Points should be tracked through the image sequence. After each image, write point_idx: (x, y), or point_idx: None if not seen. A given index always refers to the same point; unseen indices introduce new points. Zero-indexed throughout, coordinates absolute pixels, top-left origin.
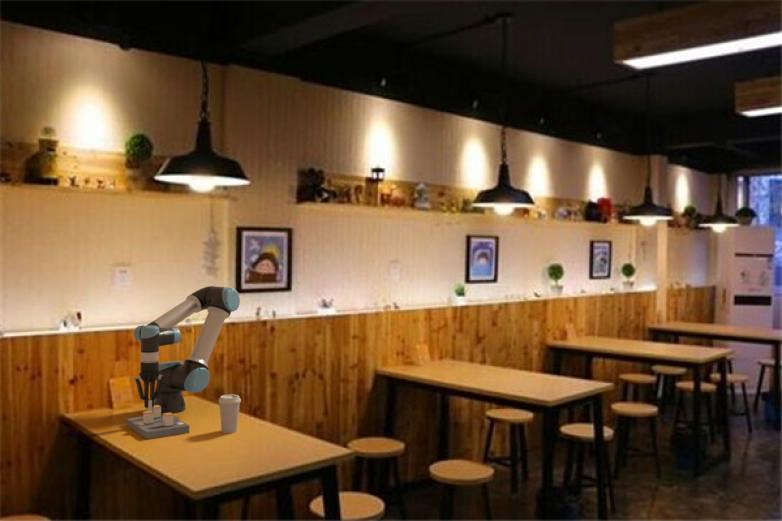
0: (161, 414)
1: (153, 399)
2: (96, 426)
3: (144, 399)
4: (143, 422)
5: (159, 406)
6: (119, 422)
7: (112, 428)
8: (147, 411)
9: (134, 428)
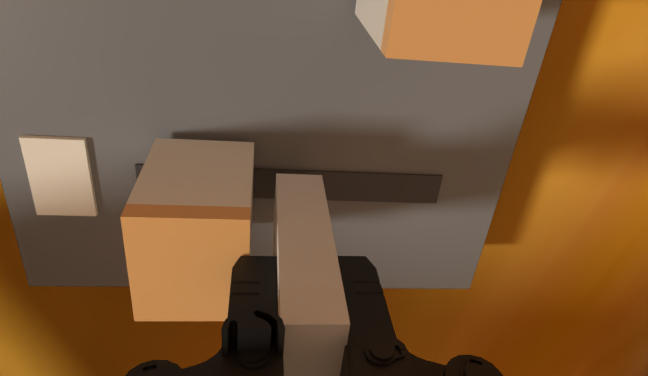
0: (110, 262)
1: (258, 319)
2: (614, 325)
3: (423, 367)
4: None
5: (145, 234)
6: (441, 342)
7: (581, 222)
8: (471, 18)
9: None
